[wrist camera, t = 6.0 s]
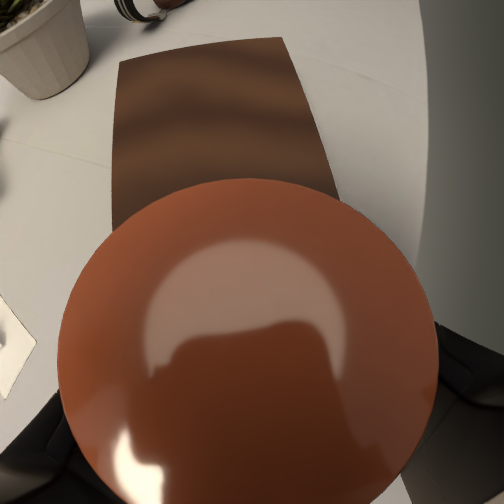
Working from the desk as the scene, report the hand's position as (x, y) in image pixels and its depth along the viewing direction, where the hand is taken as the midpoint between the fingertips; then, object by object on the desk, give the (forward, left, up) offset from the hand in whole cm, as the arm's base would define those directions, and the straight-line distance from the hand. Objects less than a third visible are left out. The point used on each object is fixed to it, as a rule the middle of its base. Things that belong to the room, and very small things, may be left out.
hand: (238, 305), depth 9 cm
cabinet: (+10, -2, -13) cm, 17 cm away
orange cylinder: (-1, 0, -5) cm, 5 cm away
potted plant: (+32, +11, -14) cm, 37 cm away
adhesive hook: (+6, +22, -14) cm, 26 cm away
